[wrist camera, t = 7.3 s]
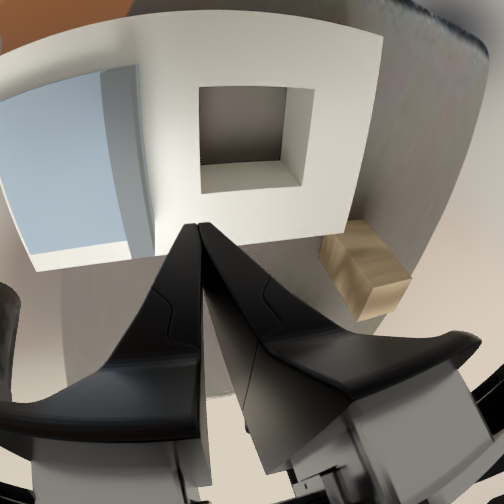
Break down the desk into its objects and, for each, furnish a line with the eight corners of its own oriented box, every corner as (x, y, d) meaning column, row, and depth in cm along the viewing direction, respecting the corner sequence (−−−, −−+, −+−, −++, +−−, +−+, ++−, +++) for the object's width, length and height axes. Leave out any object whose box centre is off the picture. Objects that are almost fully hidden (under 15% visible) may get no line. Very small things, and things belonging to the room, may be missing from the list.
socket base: (320, 204, 24) (343, 232, 21) (50, 236, 19) (36, 271, 16) (347, 33, 15) (383, 36, 12) (9, 59, 10) (-24, 67, 7)
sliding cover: (155, 224, 16) (154, 256, 14) (36, 242, 14) (23, 273, 12) (138, 63, 10) (130, 67, 8) (-5, 103, 9) (-33, 119, 7)
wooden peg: (352, 252, 29) (393, 311, 23) (318, 257, 28) (356, 322, 22) (363, 219, 26) (412, 278, 20) (326, 222, 25) (373, 287, 19)
